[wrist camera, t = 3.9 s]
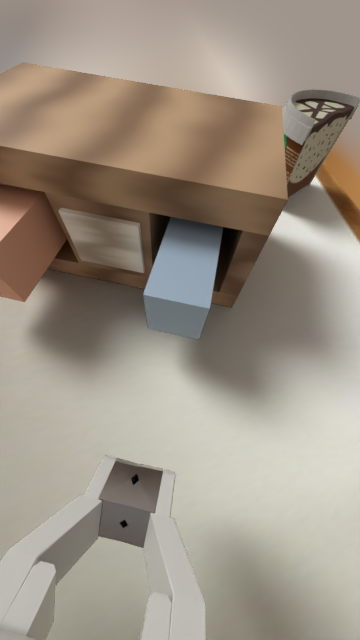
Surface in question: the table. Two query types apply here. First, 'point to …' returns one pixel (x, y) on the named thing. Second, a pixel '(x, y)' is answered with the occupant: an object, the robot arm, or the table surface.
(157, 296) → the light blue long block
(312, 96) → the food container
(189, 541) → the table surface
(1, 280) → the terracotta key
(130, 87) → the box
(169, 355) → the table surface
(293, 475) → the table surface
